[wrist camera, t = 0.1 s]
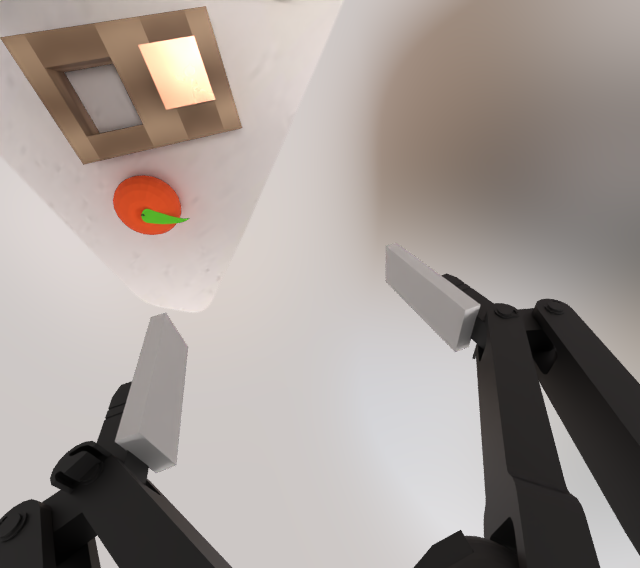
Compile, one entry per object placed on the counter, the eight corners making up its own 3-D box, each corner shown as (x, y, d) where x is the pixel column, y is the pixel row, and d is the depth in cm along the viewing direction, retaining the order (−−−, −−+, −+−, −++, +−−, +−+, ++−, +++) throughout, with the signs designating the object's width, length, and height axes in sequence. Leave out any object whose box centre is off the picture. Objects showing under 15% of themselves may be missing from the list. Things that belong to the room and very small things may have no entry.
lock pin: (162, 64, 29) (138, 45, 19) (199, 57, 30) (193, 35, 20) (180, 108, 31) (166, 109, 22) (214, 101, 32) (215, 99, 22)
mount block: (26, 45, 25) (0, 37, 22) (206, 17, 28) (205, 6, 25) (96, 158, 31) (83, 164, 28) (239, 125, 34) (242, 128, 31)
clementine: (195, 182, 36) (192, 197, 30) (188, 230, 39) (184, 251, 33) (123, 161, 32) (104, 173, 27) (120, 216, 35) (103, 237, 30)
